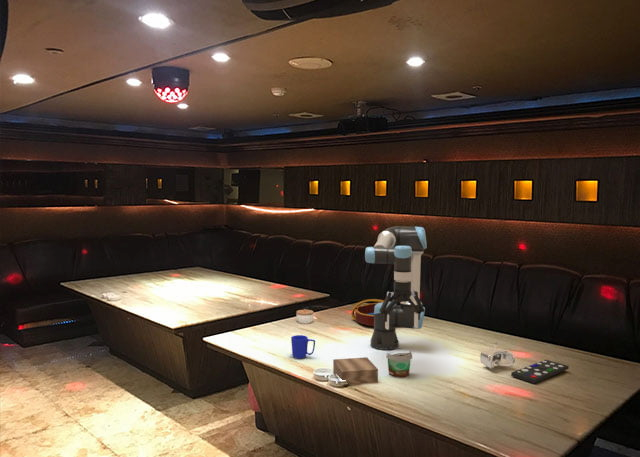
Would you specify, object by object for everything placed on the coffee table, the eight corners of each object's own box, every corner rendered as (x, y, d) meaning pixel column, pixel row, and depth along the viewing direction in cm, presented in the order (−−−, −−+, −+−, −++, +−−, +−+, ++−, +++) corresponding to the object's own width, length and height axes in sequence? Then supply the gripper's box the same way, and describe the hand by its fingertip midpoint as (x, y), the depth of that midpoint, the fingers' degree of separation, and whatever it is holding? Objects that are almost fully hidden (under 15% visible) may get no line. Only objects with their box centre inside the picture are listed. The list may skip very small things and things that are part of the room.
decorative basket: (410, 321, 320) (410, 298, 319) (391, 332, 295) (391, 307, 294) (363, 314, 338) (363, 292, 337) (341, 323, 314) (342, 300, 313)
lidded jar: (294, 322, 316) (294, 307, 315) (310, 321, 319) (310, 306, 318) (298, 326, 305) (298, 311, 305) (315, 325, 309) (315, 310, 308)
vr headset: (489, 372, 231) (491, 349, 229) (478, 364, 239) (479, 342, 237) (514, 367, 235) (516, 345, 233) (502, 360, 244) (503, 338, 242)
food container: (391, 379, 219) (391, 357, 218) (385, 374, 225) (386, 353, 224) (416, 377, 222) (417, 355, 222) (410, 372, 228) (411, 350, 228)
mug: (313, 360, 243) (313, 340, 242) (289, 359, 245) (289, 339, 245) (316, 355, 251) (316, 336, 250) (293, 353, 253) (293, 334, 253)
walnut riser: (366, 370, 231) (367, 357, 230) (377, 382, 215) (378, 369, 215) (333, 372, 228) (333, 359, 227) (341, 385, 212) (342, 371, 212)
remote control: (511, 375, 227) (511, 371, 226) (545, 362, 245) (545, 358, 245) (534, 383, 218) (534, 378, 218) (568, 368, 236) (568, 364, 236)
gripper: (425, 278, 227) (424, 324, 228) (372, 280, 222) (372, 327, 223) (432, 281, 220) (431, 328, 221) (378, 283, 215) (377, 331, 216)
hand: (401, 328), depth 222 cm, fingers open, 13 cm apart
